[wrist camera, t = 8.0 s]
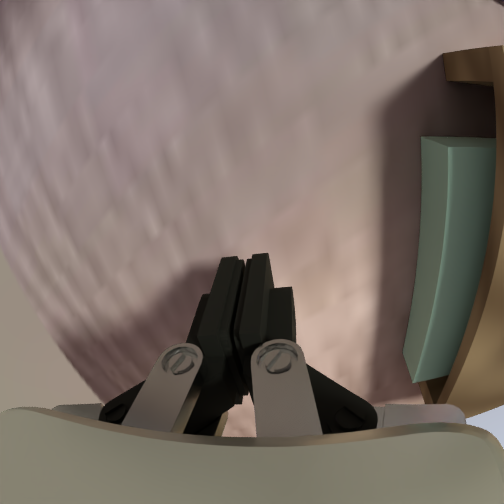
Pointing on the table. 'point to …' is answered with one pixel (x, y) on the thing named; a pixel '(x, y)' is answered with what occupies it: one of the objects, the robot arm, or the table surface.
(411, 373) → the mint green tile
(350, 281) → the table surface
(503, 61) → the walnut stand
